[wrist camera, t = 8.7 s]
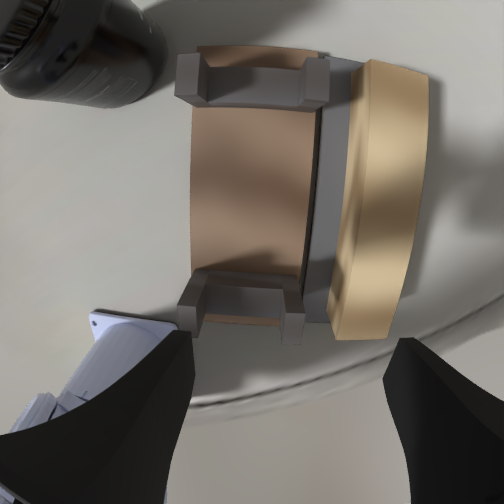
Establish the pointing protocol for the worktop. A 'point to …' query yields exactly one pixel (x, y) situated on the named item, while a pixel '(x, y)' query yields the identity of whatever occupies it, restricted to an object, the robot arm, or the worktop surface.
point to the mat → (328, 190)
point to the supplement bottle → (78, 51)
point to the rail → (378, 198)
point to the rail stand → (249, 182)
